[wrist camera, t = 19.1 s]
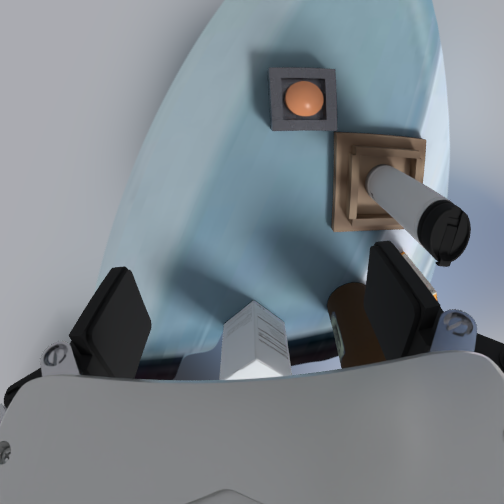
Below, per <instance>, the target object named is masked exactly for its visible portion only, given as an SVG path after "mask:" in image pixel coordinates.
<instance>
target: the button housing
mask: <svg viewBox="0 0 504 504" xmlns="http://www.w3.org/2000/svg"><path fill="white" fill-rule="evenodd" d="M267 73H268V88H269V105H270V122H271V130H272V131H297V130H322V131H337V97H336V75H335V69H323V68H269V69H268V71H267ZM300 81H308V82H311V83H313V84H315V85H316V86H318V88H319V89H320V90H321V92H322V94H323V105H322V107H321V109H320V110H319V111H318V112H317V113H316V114H314V115H312V116H299V115H296V114H293V113H292V112H291V111H289V110H288V108H287V107H286V105H285V102H284V95H285V92H286V90H287V89H288V88H289V87H290V86H291V85H293V84H295V83H297V82H300Z"/></svg>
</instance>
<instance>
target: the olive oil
mask: <svg viewBox="0 0 504 504" xmlns="http://www.w3.org/2000/svg"><path fill="white" fill-rule="evenodd" d="M365 288H366V285H364V284H361V283H348V284H345V285H343V286H341V287H339V288H337V289H336V290H335V291H334V292H333V293H332V294H331V296H330V297H329V300H328V303H327V309H328V313H329V316H330V320H331V324H332V328H333V332H334V336H335V340H336V345H337V349H338V354H339V358H340V363H341V368H342V369H343V368H349V367H355V366H361V365H367V364H372V363H378V362H383V361H386V359H385V356H384V354H383V351H382V349H381V347H380V344H379V342H378V339H377V337H376V335H375V332H374V330H373V328H372V326H371V323H370V321H369V319H368V317H367V314H366V312H365V310H364V295H365Z"/></svg>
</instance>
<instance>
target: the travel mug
mask: <svg viewBox="0 0 504 504" xmlns="http://www.w3.org/2000/svg"><path fill="white" fill-rule="evenodd" d="M365 188H366V191H367V193H368V195H369V196H370V197H371V198H372V199H373V200H374V201H375V202H376V203H378V204H379V205H380V206H381V207H382V208H383V209H384V210H385V211H386V212H387V213H389V214H390V215H391V216H392V217H393V218H394V219H395V220H396V221H397V222H398V223H399V224H400V225H401V226H402V227H403V228H404V229H405V230H406V231H407V232H408V233H409V234H410V235H411V236H412V237H413V238H414V239H415V240H416V241H417V242H418V243H419V244H420V245H421V246H422V247H423V248H425V249H426V250H427V251H428V252H429V253H430V254H431V255H432V256H433V257H434V258H435V259H436V260H437V261H438V262H436V264H437V265H438V266H445V267H447V266H450V263H451V262H452V261H454V260H456V259H457V258H458V257H459V256H460V255H461V254H462V253H463V251H464V250H465V248H466V246H467V244H468V241H469V238H470V231H471V227H470V221H469V218H468V215H467V214H466V213H465V212H464V211H462V210H461V208H459V207H458V206H456V205H454V204H453V203H452V202H451V201H450V200H448V199H446V198H445V197H443V196H442V195H440V194H439V193H437V192H435V191H434V190H432V189H430V188H429V187H427V186H425V185H424V184H422V183H420V182H419V181H417V180H415V179H414V178H412V177H410V176H408V175H406V174H405V173H403V172H401V171H399V170H397V169H396V168H394V167H392V166H390V165H387V164H380V165H377V166H375V167H373V168H372V169H371V170H370V172H369V173H368V175H367V177H366V181H365Z"/></svg>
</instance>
